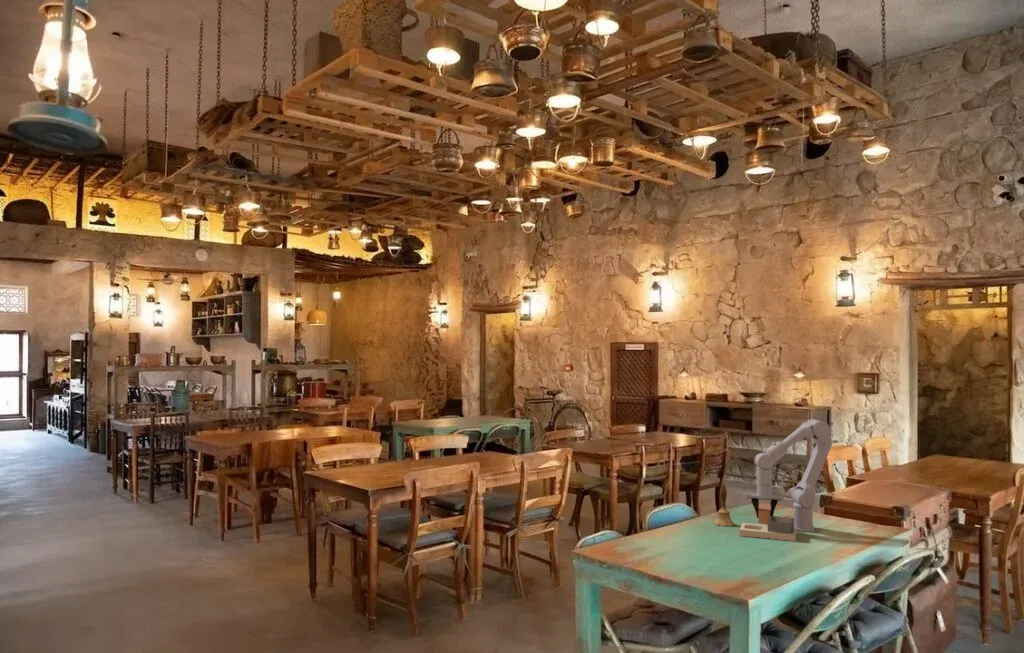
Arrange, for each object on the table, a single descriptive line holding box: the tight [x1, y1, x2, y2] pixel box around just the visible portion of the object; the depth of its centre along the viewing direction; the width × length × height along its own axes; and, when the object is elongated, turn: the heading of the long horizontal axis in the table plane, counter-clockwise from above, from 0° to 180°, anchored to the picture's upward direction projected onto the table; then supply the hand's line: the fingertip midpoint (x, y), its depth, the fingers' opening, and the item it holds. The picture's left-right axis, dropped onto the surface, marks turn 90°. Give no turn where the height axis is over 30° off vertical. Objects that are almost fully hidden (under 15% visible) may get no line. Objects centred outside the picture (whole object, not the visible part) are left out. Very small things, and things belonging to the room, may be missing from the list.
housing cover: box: [767, 515, 794, 533], centre depth 279 cm, size 9×9×4 cm
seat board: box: [738, 522, 798, 542], centre depth 281 cm, size 12×20×2 cm, turn 66°
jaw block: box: [757, 507, 771, 525], centre depth 290 cm, size 4×4×5 cm
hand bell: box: [713, 484, 736, 527], centre depth 298 cm, size 8×8×16 cm
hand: (765, 518), depth 290 cm, fingers closed on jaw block, 4 cm apart
